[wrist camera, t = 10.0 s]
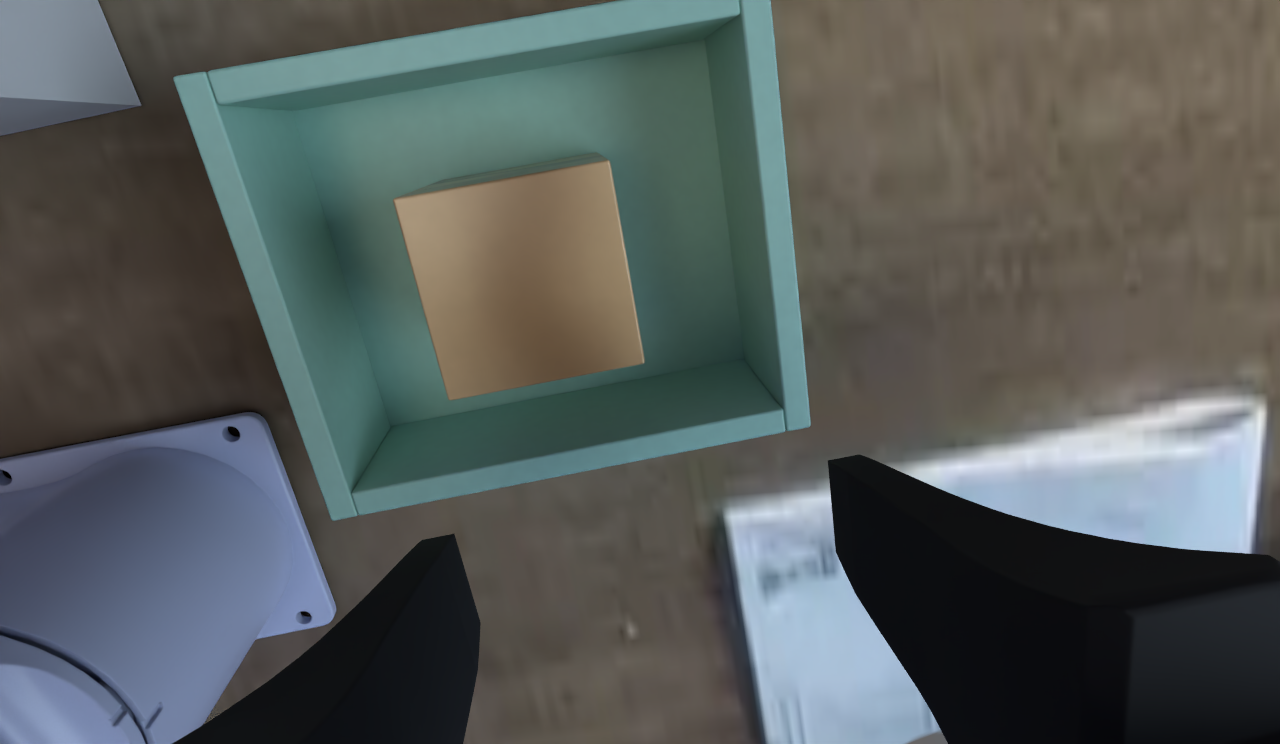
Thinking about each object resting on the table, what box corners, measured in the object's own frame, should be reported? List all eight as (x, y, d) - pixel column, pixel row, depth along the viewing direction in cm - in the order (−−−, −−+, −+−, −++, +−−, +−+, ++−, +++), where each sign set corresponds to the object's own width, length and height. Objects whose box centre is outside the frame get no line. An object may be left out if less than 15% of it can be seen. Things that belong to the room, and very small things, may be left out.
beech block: (479, 332, 22) (448, 401, 16) (440, 180, 20) (391, 198, 15) (625, 304, 22) (645, 364, 16) (598, 152, 21) (610, 159, 15)
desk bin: (379, 442, 23) (331, 522, 19) (265, 89, 20) (170, 76, 15) (763, 369, 24) (812, 427, 19) (721, 10, 20) (769, -27, 15)
